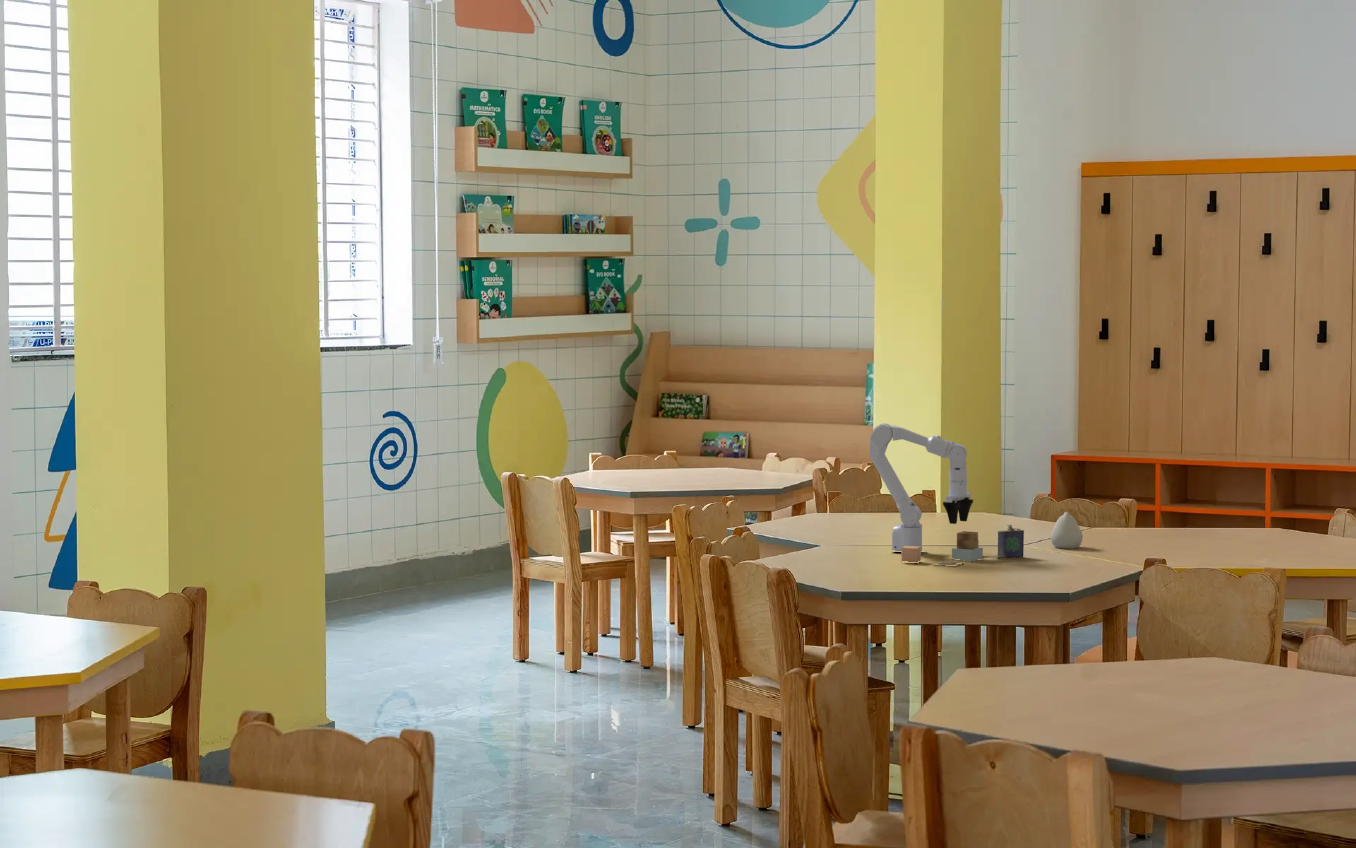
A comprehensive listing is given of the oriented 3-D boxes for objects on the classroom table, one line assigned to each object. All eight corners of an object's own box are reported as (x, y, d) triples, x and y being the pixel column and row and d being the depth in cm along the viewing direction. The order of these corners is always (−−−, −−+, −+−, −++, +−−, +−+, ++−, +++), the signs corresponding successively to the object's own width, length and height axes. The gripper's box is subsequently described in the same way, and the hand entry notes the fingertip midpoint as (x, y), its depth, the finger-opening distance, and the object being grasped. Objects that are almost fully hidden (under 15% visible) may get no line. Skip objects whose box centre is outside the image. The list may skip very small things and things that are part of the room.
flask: (1000, 559, 464) (1000, 526, 463) (995, 558, 466) (995, 525, 466) (1025, 557, 467) (1025, 524, 466) (1020, 556, 469) (1020, 523, 469)
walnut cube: (956, 548, 463) (956, 532, 463) (963, 546, 467) (963, 531, 467) (971, 549, 460) (971, 534, 460) (977, 547, 464) (977, 532, 464)
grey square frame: (933, 565, 453) (933, 563, 453) (943, 562, 458) (943, 560, 458) (953, 567, 448) (953, 564, 448) (963, 564, 454) (963, 562, 454)
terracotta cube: (901, 563, 457) (901, 547, 457) (905, 561, 462) (905, 545, 462) (917, 564, 456) (917, 548, 455) (920, 562, 460) (920, 546, 460)
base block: (951, 560, 463) (951, 548, 463) (963, 558, 469) (963, 546, 468) (970, 562, 459) (970, 550, 458) (982, 560, 464) (982, 547, 464)
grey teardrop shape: (1083, 550, 482) (1084, 514, 482) (1051, 549, 484) (1051, 513, 484) (1081, 545, 492) (1081, 510, 492) (1049, 545, 495) (1050, 510, 494)
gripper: (959, 483, 467) (959, 525, 468) (978, 479, 479) (979, 520, 479) (939, 482, 471) (939, 524, 472) (959, 478, 483) (959, 519, 483)
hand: (958, 522), depth 476 cm, fingers open, 7 cm apart
